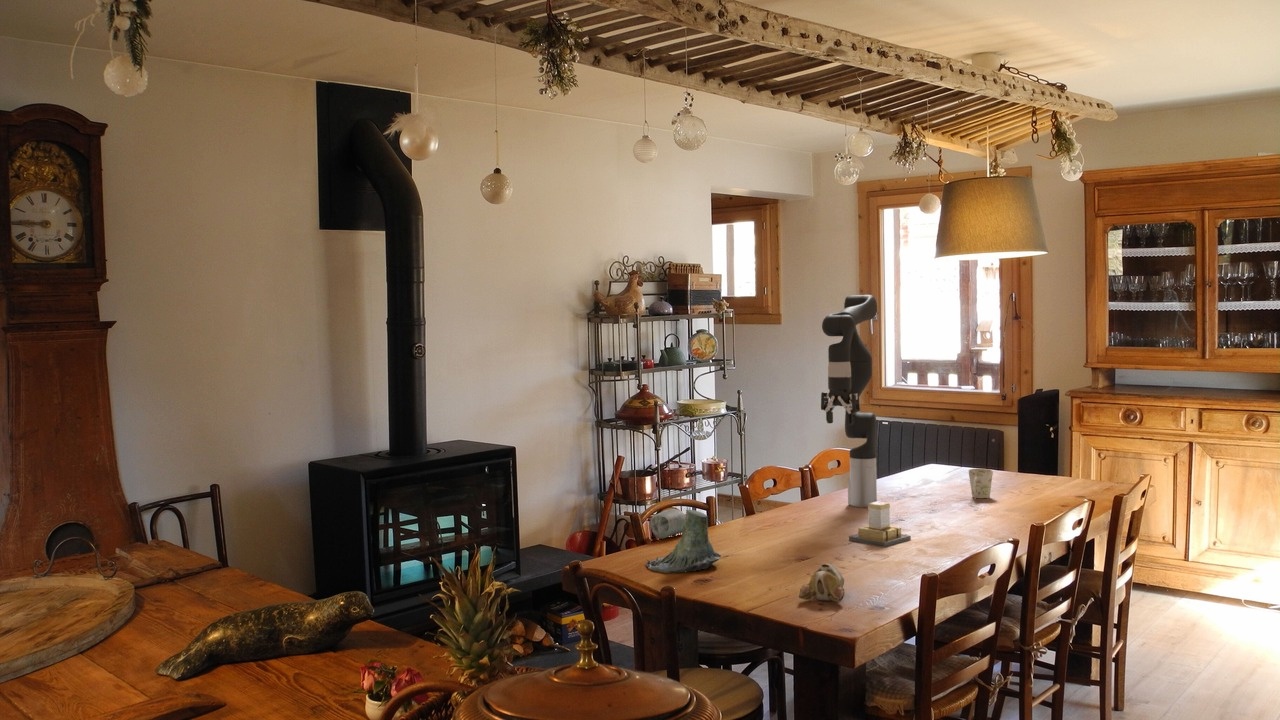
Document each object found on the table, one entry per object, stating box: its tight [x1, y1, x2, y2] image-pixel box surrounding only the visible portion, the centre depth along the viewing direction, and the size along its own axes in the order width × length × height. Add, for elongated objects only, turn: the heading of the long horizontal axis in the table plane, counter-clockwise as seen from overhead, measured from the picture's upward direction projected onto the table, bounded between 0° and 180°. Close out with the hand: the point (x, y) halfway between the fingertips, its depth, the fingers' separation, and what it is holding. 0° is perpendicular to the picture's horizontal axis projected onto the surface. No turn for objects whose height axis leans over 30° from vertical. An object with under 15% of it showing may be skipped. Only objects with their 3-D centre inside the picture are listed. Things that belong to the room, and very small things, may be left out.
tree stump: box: [646, 509, 722, 574], centre depth 271 cm, size 18×20×18 cm
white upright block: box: [867, 500, 891, 531], centre depth 295 cm, size 5×5×10 cm
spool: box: [649, 508, 686, 540], centre depth 308 cm, size 14×10×10 cm
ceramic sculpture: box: [798, 561, 845, 603], centre depth 236 cm, size 11×9×15 cm
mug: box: [968, 468, 994, 499], centre depth 355 cm, size 8×13×10 cm, turn 148°
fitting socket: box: [848, 524, 911, 548], centre depth 295 cm, size 13×13×4 cm
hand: (840, 424), depth 323 cm, fingers open, 8 cm apart
